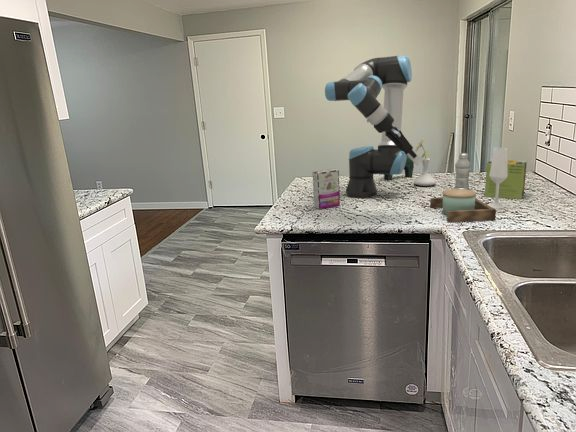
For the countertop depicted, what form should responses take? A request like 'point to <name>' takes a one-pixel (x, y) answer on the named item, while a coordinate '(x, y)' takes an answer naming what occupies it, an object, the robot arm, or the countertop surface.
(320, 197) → the candy bar box
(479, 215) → the walnut bay
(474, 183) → the countertop surface
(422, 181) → the flower in vase
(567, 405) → the countertop surface
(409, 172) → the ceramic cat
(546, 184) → the countertop surface
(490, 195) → the protein box
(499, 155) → the champagne flute
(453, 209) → the green canister
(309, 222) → the countertop surface
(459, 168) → the plastic bottle
